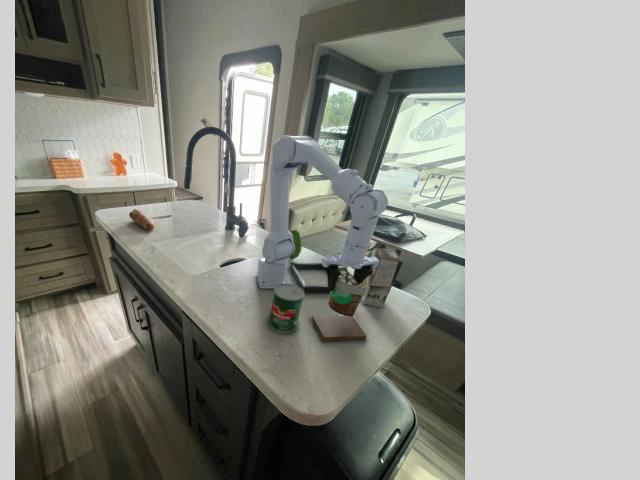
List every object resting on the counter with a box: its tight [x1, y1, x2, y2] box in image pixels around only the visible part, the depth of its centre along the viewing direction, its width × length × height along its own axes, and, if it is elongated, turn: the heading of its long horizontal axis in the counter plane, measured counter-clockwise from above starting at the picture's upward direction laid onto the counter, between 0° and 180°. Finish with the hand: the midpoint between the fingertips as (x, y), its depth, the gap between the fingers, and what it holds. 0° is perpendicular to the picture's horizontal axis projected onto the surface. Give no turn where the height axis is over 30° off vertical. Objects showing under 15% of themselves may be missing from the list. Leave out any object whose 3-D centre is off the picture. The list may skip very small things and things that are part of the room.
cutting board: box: [311, 314, 367, 342], centre depth 74 cm, size 12×9×2 cm
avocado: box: [288, 228, 303, 260], centre depth 107 cm, size 8×8×12 cm
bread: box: [128, 208, 155, 232], centre depth 129 cm, size 6×19×6 cm, turn 36°
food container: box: [327, 266, 366, 317], centre depth 74 cm, size 12×6×10 cm, turn 5°
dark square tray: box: [289, 262, 331, 294], centre depth 96 cm, size 15×17×2 cm
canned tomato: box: [268, 282, 305, 334], centre depth 72 cm, size 8×8×11 cm
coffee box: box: [360, 247, 404, 308], centre depth 85 cm, size 9×6×16 cm
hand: (341, 289), depth 74 cm, fingers closed on food container, 6 cm apart
